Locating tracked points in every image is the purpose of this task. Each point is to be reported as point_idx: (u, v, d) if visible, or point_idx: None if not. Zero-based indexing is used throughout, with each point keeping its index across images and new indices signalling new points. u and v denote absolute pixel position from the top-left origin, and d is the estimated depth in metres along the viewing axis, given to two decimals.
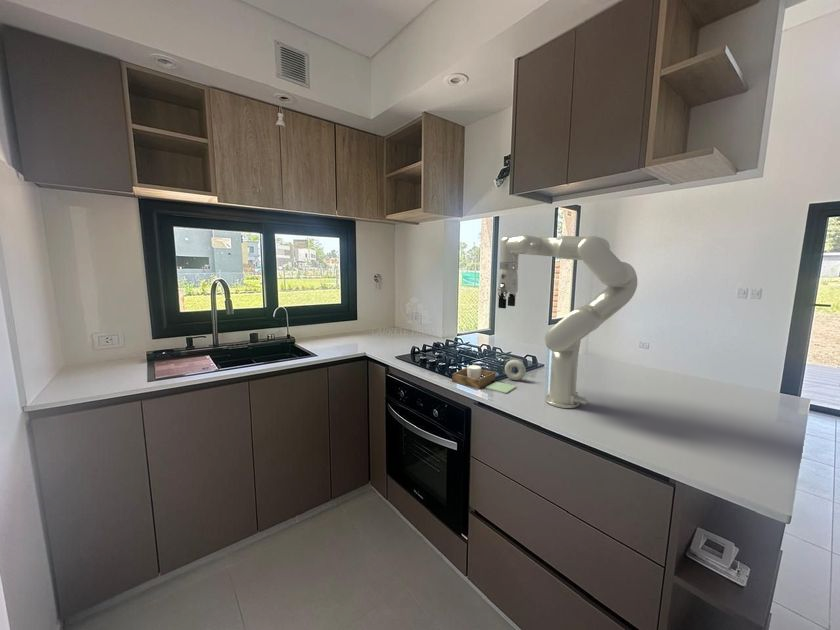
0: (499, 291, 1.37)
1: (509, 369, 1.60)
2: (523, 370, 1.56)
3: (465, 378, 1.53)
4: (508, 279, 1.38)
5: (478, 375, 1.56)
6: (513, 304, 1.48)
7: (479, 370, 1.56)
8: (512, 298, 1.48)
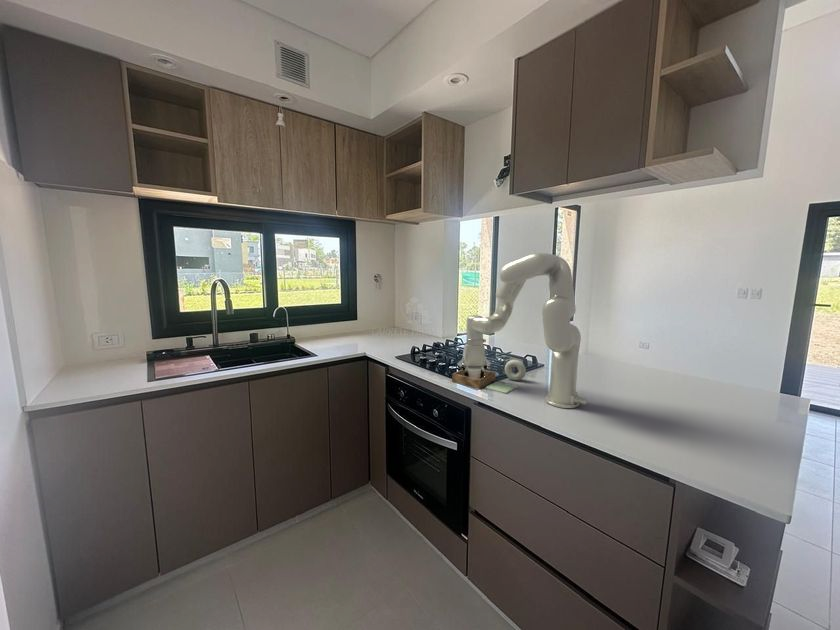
0: None
1: (509, 369, 1.60)
2: (523, 370, 1.56)
3: (465, 378, 1.53)
4: None
5: (478, 375, 1.56)
6: None
7: (479, 370, 1.56)
8: None
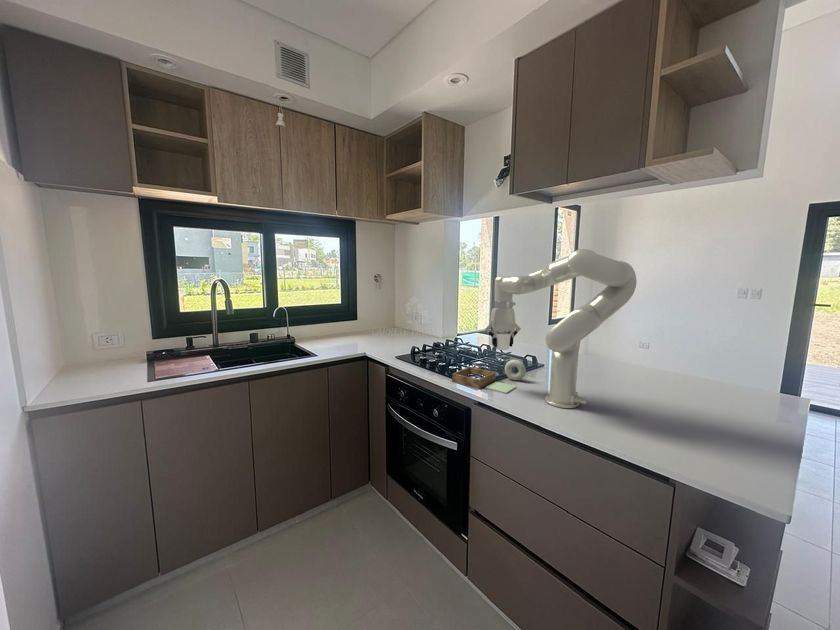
0: None
1: (509, 369, 1.60)
2: (523, 370, 1.56)
3: (465, 378, 1.53)
4: None
5: (508, 341, 1.44)
6: None
7: (509, 335, 1.44)
8: None
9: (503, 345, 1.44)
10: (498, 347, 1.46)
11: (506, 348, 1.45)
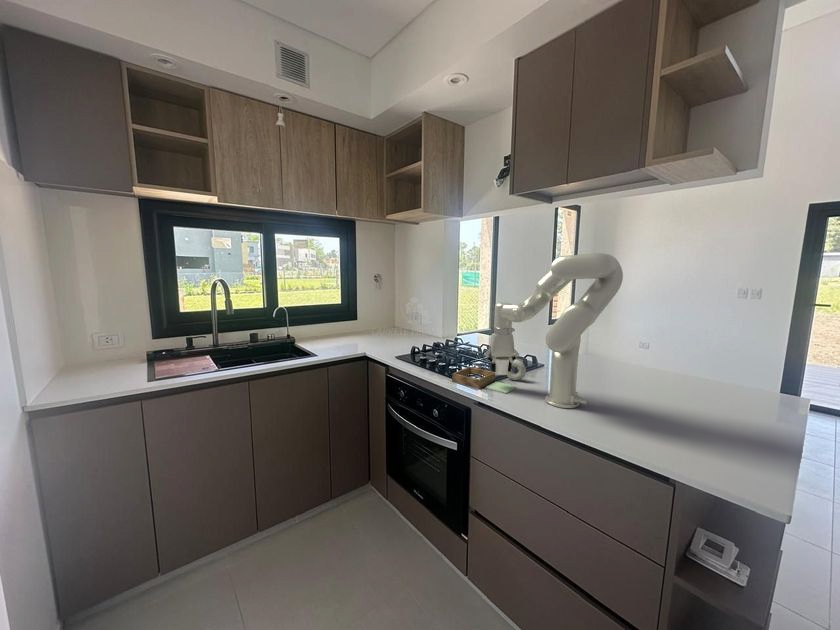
0: None
1: None
2: (523, 370, 1.56)
3: (465, 378, 1.53)
4: None
5: (506, 366, 1.46)
6: None
7: (507, 361, 1.46)
8: None
9: (501, 370, 1.46)
10: (496, 372, 1.47)
11: (504, 373, 1.47)
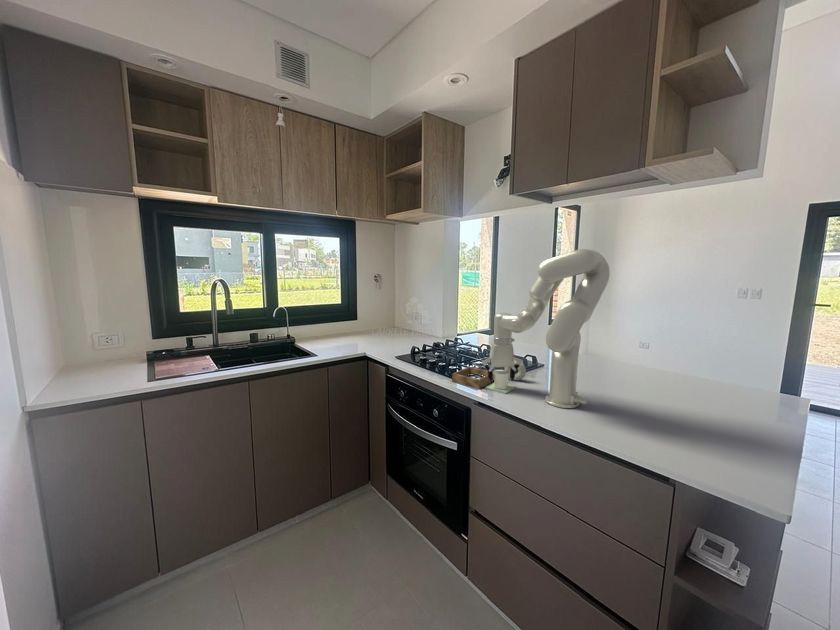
0: None
1: (509, 369, 1.60)
2: (523, 370, 1.56)
3: (465, 378, 1.53)
4: None
5: (506, 380, 1.47)
6: None
7: (507, 375, 1.47)
8: None
9: (501, 384, 1.47)
10: (496, 386, 1.48)
11: (504, 387, 1.47)
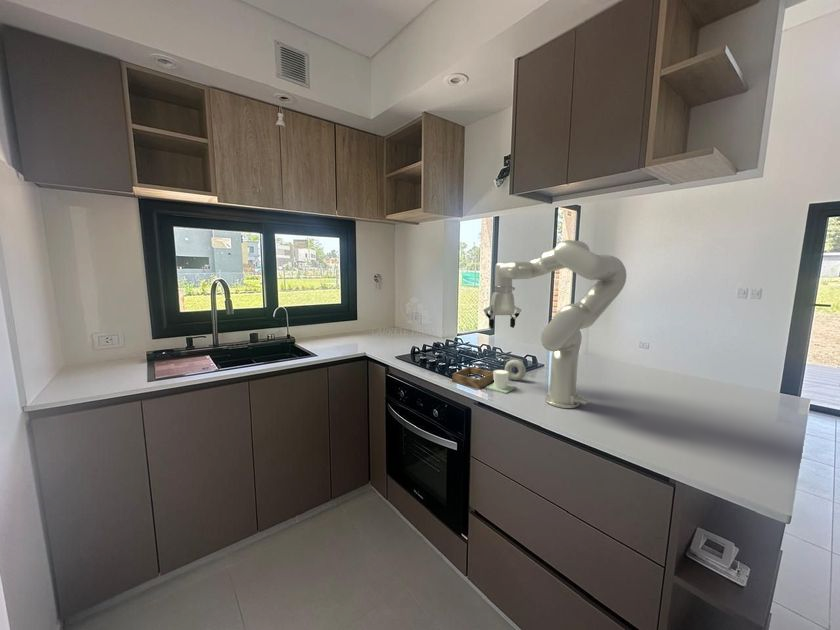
0: None
1: (509, 369, 1.60)
2: (523, 370, 1.56)
3: (465, 378, 1.53)
4: None
5: (506, 380, 1.47)
6: None
7: (507, 375, 1.47)
8: None
9: (501, 384, 1.47)
10: (496, 386, 1.48)
11: (504, 387, 1.47)
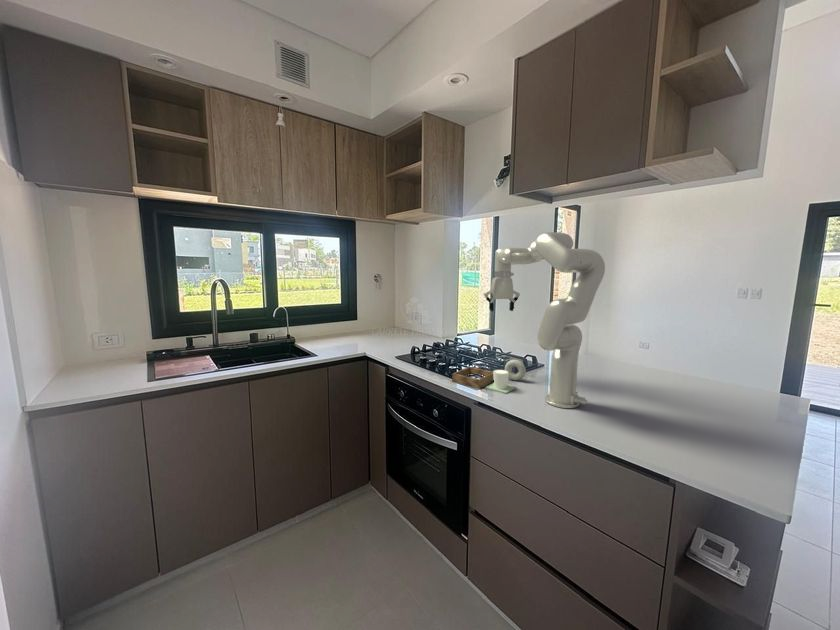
0: None
1: (509, 369, 1.60)
2: (523, 370, 1.56)
3: (465, 378, 1.53)
4: None
5: (506, 380, 1.47)
6: None
7: (507, 375, 1.47)
8: None
9: (501, 384, 1.47)
10: (496, 386, 1.48)
11: (504, 387, 1.47)
